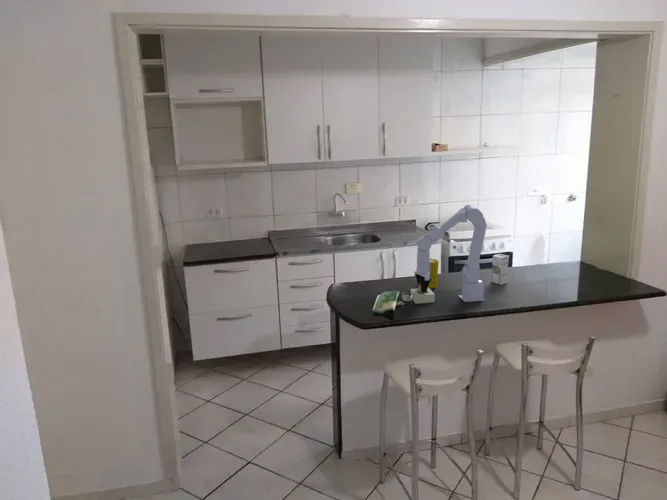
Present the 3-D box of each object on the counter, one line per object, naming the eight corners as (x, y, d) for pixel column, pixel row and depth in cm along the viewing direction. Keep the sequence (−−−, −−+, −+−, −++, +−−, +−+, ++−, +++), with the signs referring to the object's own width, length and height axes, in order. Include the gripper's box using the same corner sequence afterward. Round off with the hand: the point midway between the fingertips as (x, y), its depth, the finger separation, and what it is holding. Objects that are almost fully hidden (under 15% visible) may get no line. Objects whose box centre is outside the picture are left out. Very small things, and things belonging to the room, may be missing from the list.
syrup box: (507, 283, 269) (509, 255, 265) (499, 285, 265) (501, 257, 261) (498, 280, 273) (500, 253, 269) (490, 282, 270) (492, 255, 266)
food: (414, 290, 265) (426, 286, 272) (434, 290, 257) (445, 286, 264) (410, 260, 264) (422, 257, 271) (430, 259, 256) (441, 256, 263)
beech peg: (425, 297, 251) (425, 282, 248) (426, 300, 247) (427, 284, 245) (417, 298, 250) (417, 282, 248) (419, 301, 247) (419, 285, 245)
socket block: (428, 295, 254) (428, 287, 252) (434, 302, 245) (434, 294, 244) (410, 296, 253) (410, 288, 251) (415, 303, 244) (415, 295, 243)
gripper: (410, 258, 250) (409, 285, 254) (419, 267, 236) (418, 296, 240) (424, 257, 251) (424, 284, 255) (434, 266, 237) (433, 295, 241)
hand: (422, 290), depth 247 cm, fingers open, 5 cm apart
